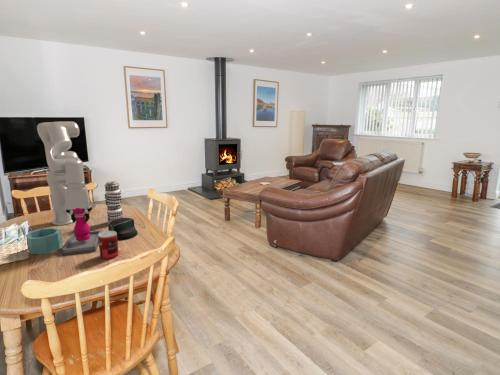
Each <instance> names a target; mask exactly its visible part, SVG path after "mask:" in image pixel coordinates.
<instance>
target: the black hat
mask: <svg viewBox="0 0 500 375" xmlns="http://www.w3.org/2000/svg"><path fill="white" fill-rule="evenodd" d="M107 226H108V228H107V231H115V232H116V233H117V240H118V242H119V241H126V240H131V239H133V238H135V237H137V236H138V234H139V233H138V231H139V230H138V228H137V230H136V227H135V226H136V225H135V220H134V219H133V218H131V217H122V218H119V219H118V218H117V219H116V220H112V221H111V222H110V223H109V224H108V225H107Z"/></svg>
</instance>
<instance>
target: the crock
mask: <svg viewBox="0 0 500 375" xmlns="http://www.w3.org/2000/svg"><path fill="white" fill-rule="evenodd" d="M25 236H26V237H27V245H28V251H29V253H28V254H30V253H31V254H30V255H33V254H34V255H33V256H36V255H35V254H38V255H45V254H49V253H52V252H54V251H58V250H59V249H61V247H62V245H63V238H62V232H61V229H59V228H56V227H45V228H38V229H36V230H32V231H30V232H27V233H26V235H25Z"/></svg>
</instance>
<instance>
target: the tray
mask: <svg viewBox="0 0 500 375" xmlns="http://www.w3.org/2000/svg"><path fill="white" fill-rule="evenodd" d="M101 232H103V229H100V230H99V229H98V230H90V232H89V234H90V238H89V239H88V240H84V241H77V240H76V236H77V235H76V234H74V232H72V234H71V235H70V236H69V238H68V239H67V242H66V243H65V244H64V246H63V247H62V249H61V254H62V256H67V255H75V254H76V255H77V254H85V253H93V252H94V253H95V252H96V251H97V248H99V242H98V234H99V233H101Z"/></svg>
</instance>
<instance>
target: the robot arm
mask: <svg viewBox="0 0 500 375" xmlns="http://www.w3.org/2000/svg"><path fill="white" fill-rule="evenodd" d="M36 130H37V134H38V136H39V138H40V139H41V141H42V143H43V145H44V151H45V158H46V163H47V166H48V167H49V171H50V172H47V174H46V182H47V184H48V189H49V192H50V197H51V204H52V211H53V217H54V219H53V220H52V221H51V224H52V225H54V226H65V225H70V224H75V223H76V217H75V215H74V214H75V213H74V212H73V210H74V209H76V208H80V209H85V212H86V213H85V219H86V222H87V223H88V221H89V220H90V218H91V217H90V213H91V211H92V210H93V209H95V208H96V204H95V203H94V202H93V201H92V200H91V198H90V197H91V196H90V194H89V193H90V192H89V190H88V187H87V186H86V182H85V174H84V162H83V160H81V159H80V158H79V156H78V154H77V152H75V151H72V150H70V149H71V148H72V145H73V142H72V140H71V138H78V136H80V127H79V125H78V124H77V123H76V122H75V121H72V120H71V121H68V120H67V121H52V122H51V121H49V122H48V121H47V122H40V123H38V124H37V126H36ZM65 187H66V188H65Z"/></svg>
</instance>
